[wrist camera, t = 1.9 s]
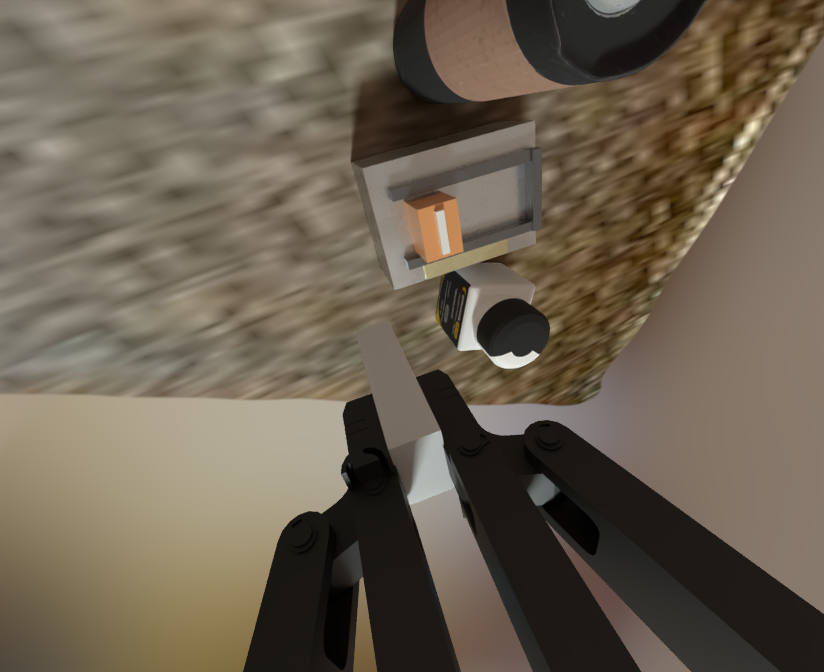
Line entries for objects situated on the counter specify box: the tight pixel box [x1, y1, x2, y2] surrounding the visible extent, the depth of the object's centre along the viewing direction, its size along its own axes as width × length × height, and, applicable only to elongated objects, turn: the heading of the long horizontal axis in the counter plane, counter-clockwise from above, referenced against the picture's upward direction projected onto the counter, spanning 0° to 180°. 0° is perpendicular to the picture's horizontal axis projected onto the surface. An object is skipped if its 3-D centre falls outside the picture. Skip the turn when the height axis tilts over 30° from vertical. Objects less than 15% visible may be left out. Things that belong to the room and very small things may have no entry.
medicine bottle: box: [436, 263, 550, 368], centre depth 35 cm, size 7×7×12 cm
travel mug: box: [393, 0, 707, 104], centre depth 19 cm, size 8×8×20 cm
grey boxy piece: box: [351, 120, 542, 290], centre depth 30 cm, size 10×14×7 cm
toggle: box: [404, 191, 464, 263], centre depth 26 cm, size 4×3×4 cm
